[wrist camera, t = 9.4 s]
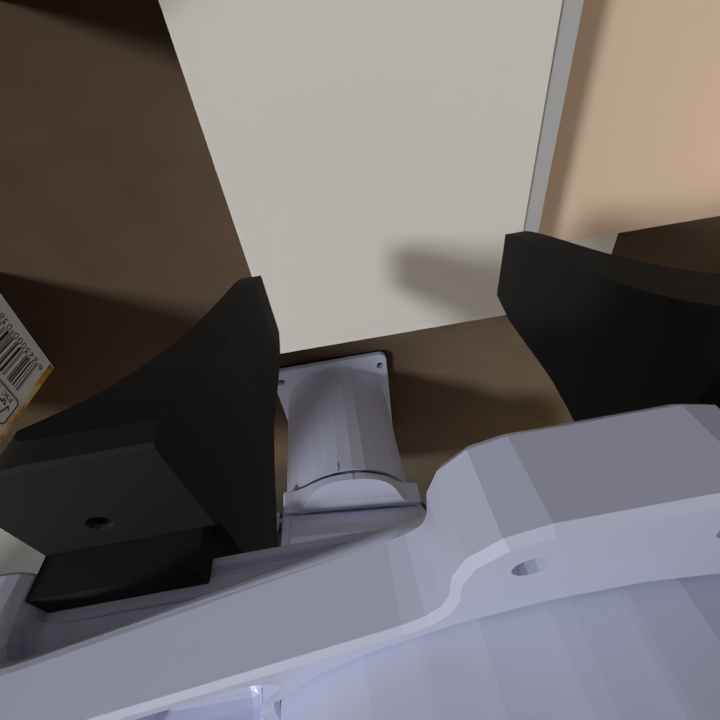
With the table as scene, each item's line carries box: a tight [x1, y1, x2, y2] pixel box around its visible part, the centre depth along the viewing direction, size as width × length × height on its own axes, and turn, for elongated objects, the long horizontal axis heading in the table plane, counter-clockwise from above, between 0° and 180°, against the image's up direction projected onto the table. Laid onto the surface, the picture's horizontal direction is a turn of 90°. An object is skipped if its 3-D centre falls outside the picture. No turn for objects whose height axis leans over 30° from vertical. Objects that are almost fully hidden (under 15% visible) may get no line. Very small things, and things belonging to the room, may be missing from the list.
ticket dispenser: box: [158, 0, 618, 354], centre depth 17 cm, size 14×20×5 cm
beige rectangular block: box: [538, 0, 720, 241], centre depth 16 cm, size 10×16×6 cm, turn 97°
